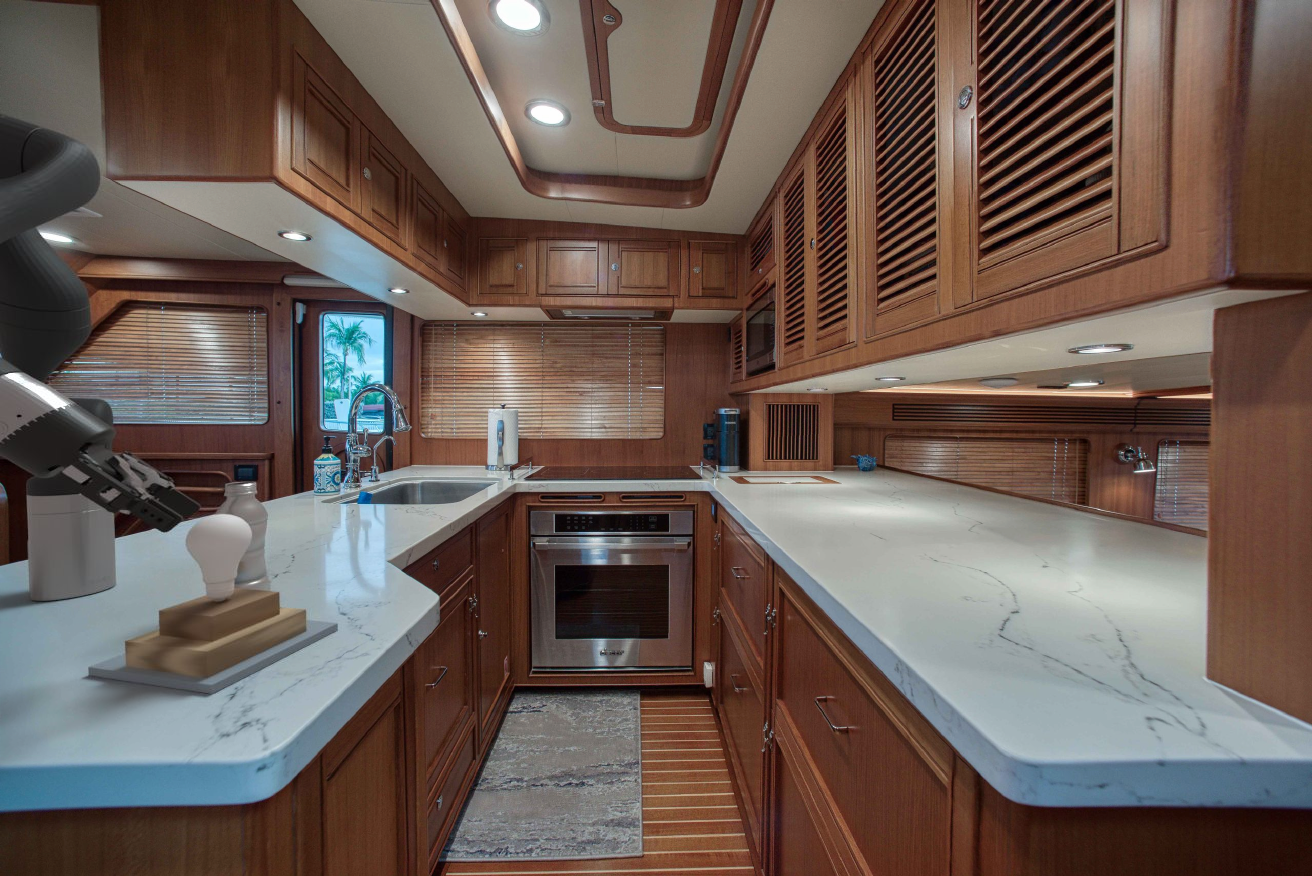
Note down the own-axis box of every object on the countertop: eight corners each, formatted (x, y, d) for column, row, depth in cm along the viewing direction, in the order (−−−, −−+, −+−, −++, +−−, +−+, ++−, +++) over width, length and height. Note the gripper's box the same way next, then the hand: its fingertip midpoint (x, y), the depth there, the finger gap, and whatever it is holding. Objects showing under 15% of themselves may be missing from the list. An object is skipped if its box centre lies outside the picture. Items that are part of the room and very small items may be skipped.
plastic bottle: (281, 601, 77) (279, 480, 76) (241, 619, 70) (238, 486, 69) (246, 600, 77) (243, 480, 77) (202, 617, 71) (199, 485, 70)
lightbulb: (243, 589, 63) (243, 508, 63) (259, 599, 60) (258, 513, 60) (180, 602, 58) (180, 515, 58) (193, 614, 55) (192, 521, 55)
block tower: (125, 666, 55) (124, 615, 54) (235, 623, 66) (234, 581, 66) (207, 678, 52) (206, 625, 52) (306, 631, 64) (305, 588, 64)
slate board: (88, 675, 54) (88, 667, 54) (235, 618, 70) (235, 612, 70) (212, 694, 51) (211, 685, 51) (337, 630, 67) (337, 623, 67)
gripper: (37, 399, 46) (201, 505, 53) (98, 402, 57) (225, 488, 64) (-51, 455, 43) (134, 559, 50) (32, 446, 55) (172, 531, 62)
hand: (185, 519), depth 57 cm, fingers open, 8 cm apart
